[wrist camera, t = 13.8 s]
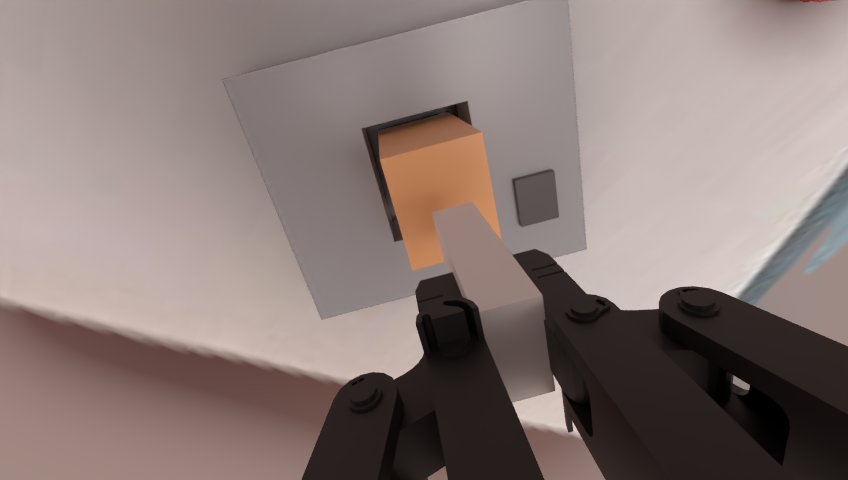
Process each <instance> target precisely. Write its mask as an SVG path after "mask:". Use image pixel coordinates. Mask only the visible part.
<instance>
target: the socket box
mask: <svg viewBox="0 0 848 480" xmlns="http://www.w3.org/2000/svg"><path fill="white" fill-rule="evenodd" d="M222 81H223V83H224V86H225V88H226V90H227V93H228V95H229V98H230V100H231V102H232V105H233V107H234V110H235V112H236V114H237V117H238V119H239V122H240V124H241V127H242V129H243V131H244V134H245V136H246V139H247V141H248V143H249V146H250V148H251V151H252V153H253V155H254V158H255V160H256V163H257V165H258V168H259V170H260V172H261V175H262V177H263V180H264V182H265V184H266V187H267V189H268V192H269V194H270V196H271V199H272V201H273V204H274V206H275V209H276V211H277V213H278V216H279V218H280V221H281V223H282V225H283V228H284V230H285V233H286V235H287V237H288V240H289V242H290V245H291V247H292V250H293V252H294V254H295V257H296V259H297V262H298V264H299V266H300V269H301V271H302V274H303V276H304V278H305V281H306V283H307V286H308V288H309V291H310V293H311V295H312V298H313V300H314V303H315V305H316V307H317V310H318V312H319V315H320V317H321V319H326V318H330V317H334V316H337V315H341V314H345V313H349V312H352V311H356V310H360V309H364V308H367V307H371V306H375V305H379V304H382V303H386V302H390V301H394V300H397V299H401V298H405V297H409V296H412V295H416V293H415V291H416V288H417V286H418V284H419V282H420V281H421V280H425V279H428V278H432V277H436V276H440V275H443V274H447V273H446V269H445V265H444V262H442V263H439V264H435V265H431V266H428V267H424V268H420V269H417V270H413V271H412V268H411V265H410V261H409V258H408V254H407V251H406V247H405V244H404V241H403V237H402V234H401V230H400V227H399V224H398V220H397V219H393V220H392V218H391V215H390V211H389V208H388V205H387V201H386V198H385V194H384V191H383V187H382V184H381V180H380V177H379V174H378V170H377V167H376V163H375V160H374V156H373V153H372V149H371V146H370V142H369V139H368V136H367V132H366V129H365V127H369V126H373V125H377V124H381V123H385V122H388V121H392V120H396V119H400V118H404V117H408V116H411V115H415V114H419V113H423V112H427V111H430V110H434V109H438V108H442V107H446V106H450V105H453V104H456V108H457V113H458V118H459V119H461V120H463V121H464V122H466V123H468V124H469V125H471V126H473V127H474V128H476V129H478V130H480V131H481V132H482V134H483V139H484V145H485V150H486V156H487V161H488V167H489V173H490V178H491V184H492V189H493V195H494V200H495V206H496V212H497V217H498V223H499V228H500V234H501V239H502V242H503V244H504V245H505V246H506V247H507V249H508V250H509V251H510V253H511V254H512V255H513V254H517V253H521V252H525V251H528V250H532V249H537V250H539V251H542V252H544V253H547V254H549V255H550V256H551V257H552V258H555V257H559V256H563V255H566V254H570V253H574V252H578V251H581V250H585V249H587V247H586V234H585V220H584V207H583V194H582V180H581V167H580V153H579V140H578V126H577V113H576V99H575V86H574V72H573V59H572V46H571V32H570V19H569V5H568V0H527V1H523V2H519V3H515V4H511V5H507V6H503V7H500V8H496V9H492V10H488V11H484V12H480V13H476V14H472V15H469V16H465V17H461V18H457V19H453V20H449V21H445V22H442V23H438V24H434V25H430V26H426V27H422V28H418V29H415V30H411V31H407V32H403V33H399V34H395V35H391V36H387V37H384V38H380V39H376V40H372V41H368V42H364V43H360V44H357V45H353V46H349V47H345V48H341V49H337V50H333V51H330V52H326V53H322V54H318V55H314V56H310V57H306V58H303V59H299V60H295V61H291V62H287V63H283V64H279V65H275V66H272V67H268V68H264V69H260V70H256V71H252V72H248V73H245V74H241V75H237V76H233V77H229V78H225V79H222Z"/></svg>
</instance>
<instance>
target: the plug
mask: <svg viewBox="0 0 848 480" xmlns="http://www.w3.org/2000/svg"><path fill="white" fill-rule="evenodd" d="M378 138H379V154H380V162H381V165H382V169H383V172H384V176H385V179H386V182H387V186H388V189H389V193H390V196H391V200H392V203H393V206H394V210H395V213H396V217H397V220H398V224H399V227H400V230H401V234H402V237H403V241H404V244H405V247H406V251H407V254H408V258H409V261H410V265H411V268H412V271H413V270H417V269H420V268H424V267H428V266H431V265H435V264H439V263H442V262H444V261H443V257H442V253H441V248H440V244H439V240H438V236H437V232H436V228H435V224H434V220H433V216H432V212H435V211H439V210H443V209H446V208H450V207H454V206H458V205H462V204H465V203H469V202H473V204H474V205H475V206H476V208H477V209H478V210H479V212H480V213H481V214H482V216H483V217H484V218H485V220H486V221H487V222H488V224H489V225H490V226H491V228H492V229H493V230H494V232H495V233H496V234H497V236H498V237H499V238H500V240H501V241H502V239H501V234H500V228H499V223H498V217H497V212H496V206H495V200H494V195H493V189H492V184H491V178H490V173H489V167H488V161H487V156H486V150H485V145H484V139H483V134H482V132H481V131H480V130H478V129H476V128H474V127H473V126H471V125H469V124H468V123H466V122H464V121H463V120H461V119H459V118H457V117H456V116H454V115H452V114H451V113H449V112H446V113H442V114H438V115H435V116H431V117H427V118H423V119H420V120H416V121H412V122H409V123H405V124H401V125H397V126H394V127H390V128H386V129H383V130H379V131H378Z"/></svg>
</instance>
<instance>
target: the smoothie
mask: <svg viewBox="0 0 848 480" xmlns="http://www.w3.org/2000/svg"><path fill="white" fill-rule="evenodd" d="M800 1H803V2H821V1H832V0H800Z"/></svg>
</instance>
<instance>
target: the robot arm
mask: <svg viewBox="0 0 848 480" xmlns="http://www.w3.org/2000/svg"><path fill="white" fill-rule="evenodd" d="M432 216H433V220H434V224H435V228H436V232H437V236H438V240H439V244H440V248H441V253H442V257H443V261H444V265H445V269H446V273H447V274H443V275H440V276H436V277H432V278H428V279H425V280H421V281H420V282H419V284H418V286H417V288H416V291H415V293H416V299H417V303H418V309H419V314H418V315H417V318H416V327H417V330H418V333H419V337H420V340H421V343H422V347H423V350H424V355H423V357H422V359H421V360H420V362H419V363H418V364H417V365H416V366H415V367H414V368H413V369H411V370H410V371H408V372H407V373H405V374H404V375H402V376H400V377H398V378H396V379H395V380H393V378H392V377H391V376H389V375H386V374H384V373H375V372H372V373H368V374H363V375H360V376H358V377H356V378H354V379H352V380H351V381H349V382H348V383H347V384H346V385H344V386H343V387H342V388H341V389H340V390H339V392H338V393H337V395H336V397H335V398H334V400H333V403H332V405H331V407H330V410H329V413H328V415H327V417H326V420H325V422H324V425H323V427H322V430H321V432H320V435H319V437H318V440H317V442H316V445H315V447H314V450H313V452H312V455H311V457H310V460H309V463H308V465H307V467H306V470H305V472H304V475H303V477H302V480H428V477H429V476H430V475H432V474H433V473H435V472H437V471H438V470H439V469H441V468H443V467H444V466H446V471H447V476H448V480H544V478H543V475H542V473H541V471H540V468H539V466H538V464H537V461H536V459H535V456H534V454H533V451H532V449H531V447H530V444H529V442H528V440H527V437H526V435H525V433H524V430H523V428H522V425H521V423H520V421H519V418H518V416H517V414H516V411H515V409H514V406H513V404H512V402H516V401H520V400H523V399H527V398H531V397H534V396H538V395H542V394H545V393H549V392H553V391H555V385H554V378H553V375H554V376H555V378H556V380H557V381H558V383H559V385H560V386H561V389H562V397H563V405H564V412H565V420H566V426H567V429H568V432H572V431H573V426H572V421H573V423H574V425H575V426H576V428H577V430H578V432H579V433H580V435H581V437H582V439H583V441H584V442H585V444H586V446H587V448H588V449H589V451H590V453H591V455H592V456H593V458H594V460H595V462H596V463H597V465H598V467H599V469H600V471H601V472H602V474H603V476H604V478H605V479H606V480H848V346H845V345H843V344H841V343H838V342H836V341H834V340H832V339H829V338H826V337H825V336H822V335H820V334H818V333H815V332H813V331H811V330H808V329H806V328H804V327H801V326H799V325H797V324H794V323H792V322H790V321H787V320H785V319H782V318H781V317H778V316H776V315H774V314H771V313H769V312H767V311H764V310H762V309H760V308H757V307H755V306H753V305H750V304H748V303H746V302H743V301H741V300H739V299H736V298H734V297H732V296H729V295H727V294H725V293H722V292H719V291H716V290H713V289H710V288H703V287H694V286H692V287H679V288H676V289H672V290H669V291H667V292H666V293H665V294H663V295H662V296H661V298H660V301H659V309H653V310H620V309H619V308H618V307H617V306H616V305H615V304H614V303H612V302H611V301H609V300H608V299H606V298H604V297H600V296H597V295H590V294H586V293H585V292H584V291H583V290H582V289H581V288H580V287H579V285H578V284H577V283H576V282H575V281H574V280H573V279H572V278H571V277H570V276H569V275H568V274H567V273H566V272H564V270H563V269H562V268H561V267H560V266H559V265H557V262H556V261H555V260H554V259H553V258H552V257H551V256H550V255H549V254H547V253H544V252H542V251H539V250H537V249H532V250H528V251H525V252H521V253H517V254H513V255H512V254H511V253H510V251H509V250H508V249H507V247H506V246H505V245H504V244H503V242H502V241H501V240H500V238H499V237H498V236H497V234H496V233H495V232H494V230H493V229H492V228H491V226H490V225H489V224H488V222H487V221H486V220H485V218H484V217H483V216H482V214H481V213H480V212H479V210H478V209H477V208H476V206H475V205H474V204H473V202H469V203H465V204H462V205H458V206H454V207H450V208H446V209H443V210H439V211H435V212H432ZM733 375H734V376H736V377H737V378H739V379H741V380H742V381H744V382H746V383H748V384H749V385H750V389H749V390H744V389H742V388H740V387H738V386H736V385H735V384H733Z"/></svg>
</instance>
